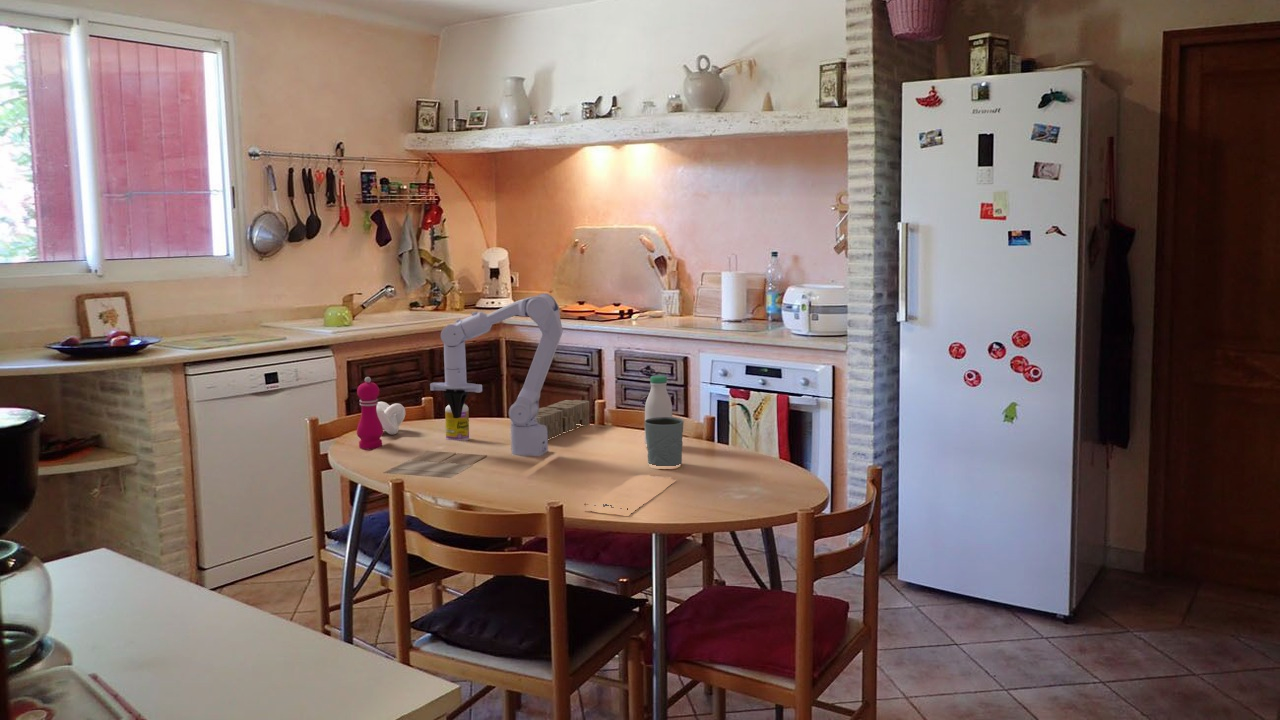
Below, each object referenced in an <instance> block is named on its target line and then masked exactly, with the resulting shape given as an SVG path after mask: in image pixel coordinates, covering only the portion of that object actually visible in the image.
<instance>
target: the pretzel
mask: <svg viewBox="0 0 1280 720" xmlns="http://www.w3.org/2000/svg"><path fill="white" fill-rule="evenodd" d="M376 410H377V415H378V418H379V420H380V422H381V424H382V427H383V431H385V432H386V433H387V434H389V435H392V436H394V435H397V434H398V432H399V426H401V424H402V423H403V422H404V420H405V416H406V408H405V407H404V406H403V404H401V403H392V404H391V405H390V404H389V403H387V402H385V401H378V404H377V407H376Z"/></svg>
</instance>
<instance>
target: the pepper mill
mask: <svg viewBox="0 0 1280 720" xmlns="http://www.w3.org/2000/svg"><path fill="white" fill-rule="evenodd" d="M356 394H357V396H358V398H359V406H361V415H360V419H359V422H358V424H357V428H356V435H357V437H358V438H359V439H360V440H359V442H358V447H359V449H361V448H362V450H377V449H379V448H381V447H383V440H382V439H381V437H382V436H383V435H384V430H383V427H382V424H381V422H380V420H379V418H378V415H377V410H376V407H377V404H378V402H379V399H378V396H379V395H380V388H379V386H378V385H377V384H376V383H375V382H372V379H371V377H370V376H366V377H365V378H364V382H363V383H361V384H360V385H358V387H357V388H356ZM376 448H377V449H376Z"/></svg>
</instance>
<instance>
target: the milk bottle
mask: <svg viewBox="0 0 1280 720" xmlns="http://www.w3.org/2000/svg"><path fill="white" fill-rule="evenodd" d="M649 380H650V381H649V382H650V384H649V385H650V390H649V394H648V396H647V398H646V400H645V404H644V421H645V420H647V419H650V418H657V417H673V405H672V404H673V403H672V401H671V400H672V399H671V398H670V395H669V393H668V390H667V384H668V383H667V382H668V378H667V376H666V375H660V374H659V375H658V374H656V375H651V376H650V379H649ZM645 444H647V440H646V431H645V430H644V445H645Z"/></svg>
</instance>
